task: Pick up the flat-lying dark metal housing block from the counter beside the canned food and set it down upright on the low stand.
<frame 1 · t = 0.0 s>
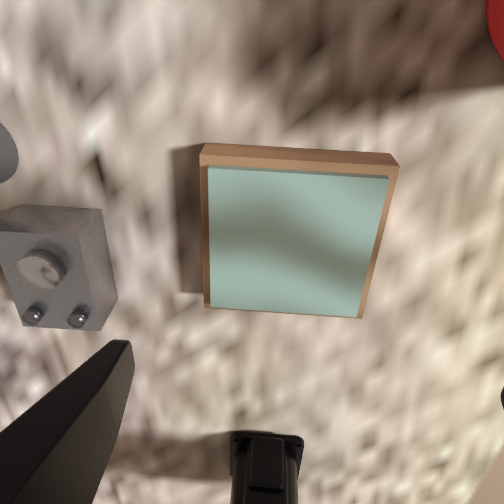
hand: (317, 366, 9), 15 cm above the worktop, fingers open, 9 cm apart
housing: (74, 253, 26), on the worktop
stand: (288, 228, 24), on the worktop
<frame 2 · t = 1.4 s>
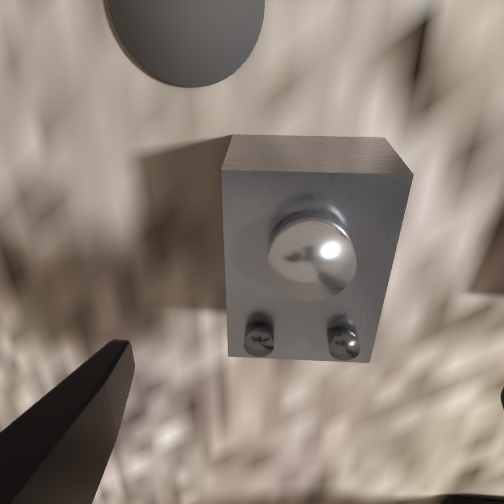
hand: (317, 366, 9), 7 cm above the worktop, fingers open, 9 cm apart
housing: (300, 226, 15), on the worktop
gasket: (190, 3, 12), on the worktop
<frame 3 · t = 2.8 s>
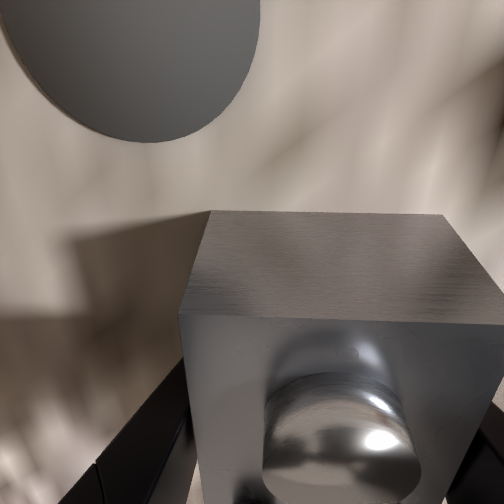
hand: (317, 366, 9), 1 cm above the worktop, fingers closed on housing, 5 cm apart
housing: (312, 330, 11), on the worktop, touching gripper
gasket: (139, 11, 7), on the worktop
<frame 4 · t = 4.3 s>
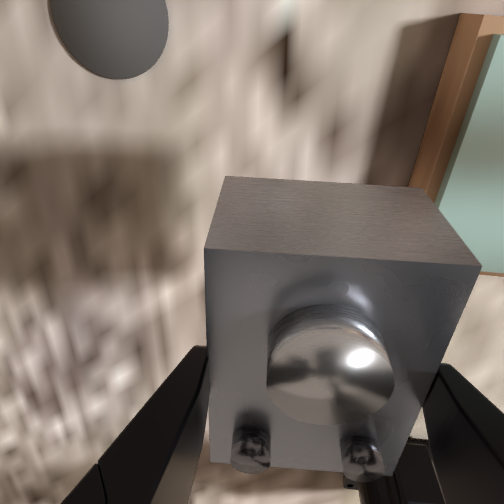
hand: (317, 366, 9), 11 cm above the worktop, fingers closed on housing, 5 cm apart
housing: (307, 290, 12), point 8 cm above the worktop, touching gripper
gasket: (114, 16, 15), on the worktop
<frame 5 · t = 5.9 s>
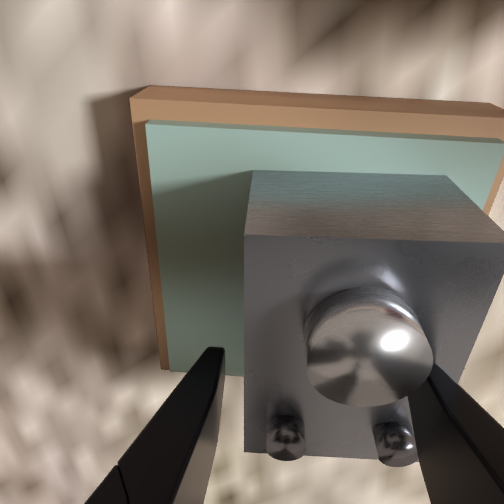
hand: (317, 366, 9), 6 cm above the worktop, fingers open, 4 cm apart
housing: (332, 281, 12), point 2 cm above the worktop, touching gripper, stand
stand: (300, 240, 14), on the worktop
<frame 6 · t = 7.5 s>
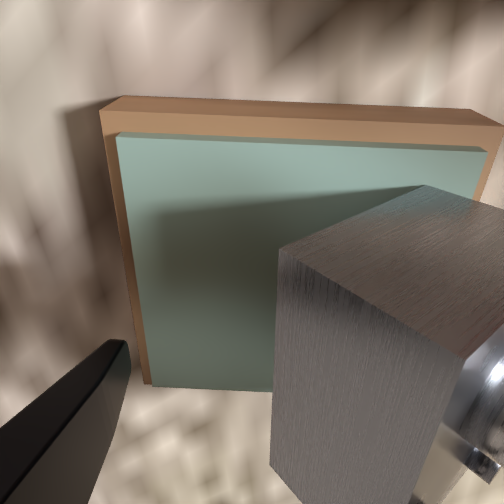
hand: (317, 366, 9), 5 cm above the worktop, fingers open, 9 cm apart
housing: (344, 331, 10), point 4 cm above the worktop, tilted 41°, touching gripper, stand
stand: (283, 250, 14), on the worktop
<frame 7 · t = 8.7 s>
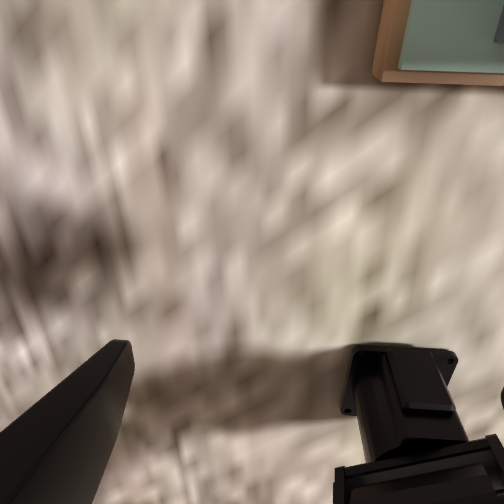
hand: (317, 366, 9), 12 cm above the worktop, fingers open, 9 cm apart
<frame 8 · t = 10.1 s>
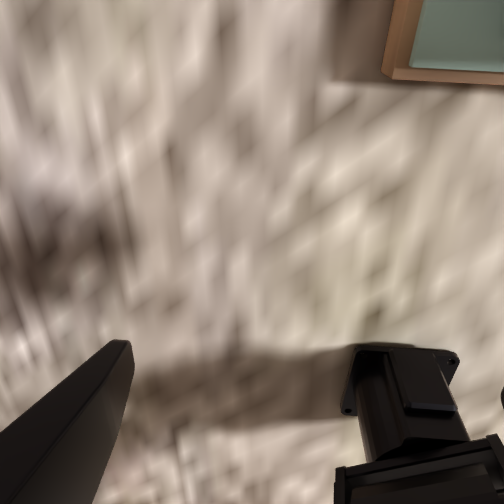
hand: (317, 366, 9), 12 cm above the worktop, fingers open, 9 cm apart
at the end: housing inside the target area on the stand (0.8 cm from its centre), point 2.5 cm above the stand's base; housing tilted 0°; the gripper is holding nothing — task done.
